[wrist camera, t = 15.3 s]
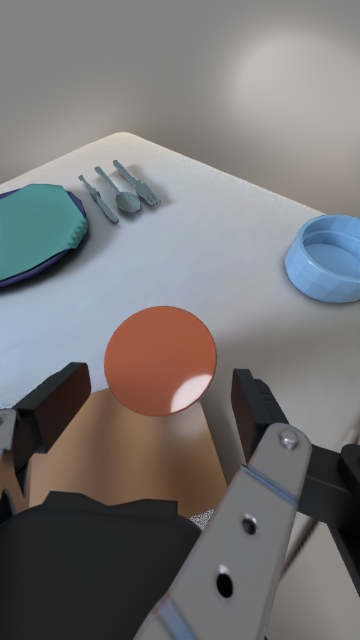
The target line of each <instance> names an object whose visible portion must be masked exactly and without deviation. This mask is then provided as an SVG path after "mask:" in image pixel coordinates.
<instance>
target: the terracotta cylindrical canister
mask: <svg viewBox="0 0 360 640" xmlns="http://www.w3.org/2000/svg"><path fill="white" fill-rule="evenodd" d="M216 363H217V354H216V347H215V343H214V340H213V337H212V335H211V333H210V332H209V330H208V329H207V327H206V326H205V325H204V324H203V322H202V321H201V320H199V319H198V318H197V317H196V316H194V315H193V314H191V313H190V312H187V311H185V310H183V309H180V308H176V307H170V306H157V307H151V308H147V309H144V310H142V311H139V312H137V313H135V314H133V315H132V316H130V317H129V318H128V319H126V320H125V321H124V322H123V323H122V324H121V325H120V326H119V327H118V328H117V329H116V331H115V332H114V334H113V335H112V337H111V339H110V341H109V343H108V346H107V349H106V352H105V358H104V372H105V377H106V381H107V384H108V386H109V388H110V390H111V392H112V394H113V395H114V396H115V398H116V399H117V400H118V401H119V402H120V403H121V404H122V405H123V406H125V407H126V408H128V409H129V410H131V411H133V412H135V413H138V414H141V415H144V416H151V417H157V418H165V419H181V418H184V417H186V416H188V415H190V414H191V413H193V412H194V411H195V410H196V409H197V408H198V407H199V405H200V404H201V402H202V400H203V398H204V396H205V394H206V392H207V390H208V388H209V386H210V384H211V382H212V380H213V377H214V374H215V370H216Z"/></svg>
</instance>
